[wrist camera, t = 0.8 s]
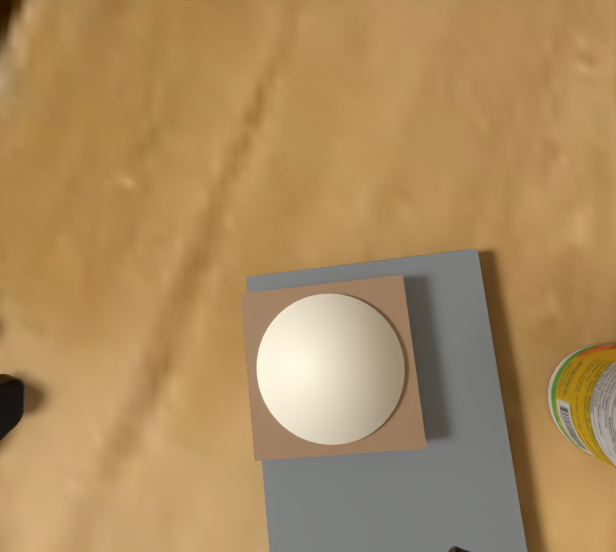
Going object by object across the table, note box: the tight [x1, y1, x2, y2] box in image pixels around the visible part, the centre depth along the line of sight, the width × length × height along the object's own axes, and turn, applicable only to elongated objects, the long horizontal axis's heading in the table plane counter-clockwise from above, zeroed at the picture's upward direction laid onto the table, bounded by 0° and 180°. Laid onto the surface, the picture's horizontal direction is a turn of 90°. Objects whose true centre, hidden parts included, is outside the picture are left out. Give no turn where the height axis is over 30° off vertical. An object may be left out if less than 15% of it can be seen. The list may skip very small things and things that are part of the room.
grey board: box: [241, 249, 527, 552], centre depth 20 cm, size 16×12×2 cm
